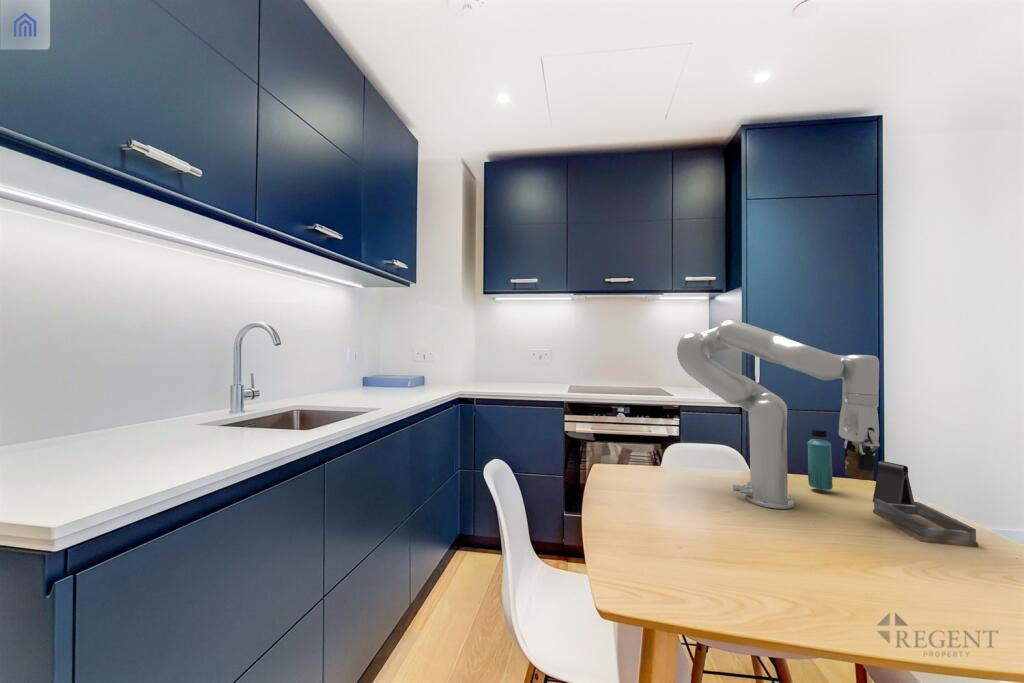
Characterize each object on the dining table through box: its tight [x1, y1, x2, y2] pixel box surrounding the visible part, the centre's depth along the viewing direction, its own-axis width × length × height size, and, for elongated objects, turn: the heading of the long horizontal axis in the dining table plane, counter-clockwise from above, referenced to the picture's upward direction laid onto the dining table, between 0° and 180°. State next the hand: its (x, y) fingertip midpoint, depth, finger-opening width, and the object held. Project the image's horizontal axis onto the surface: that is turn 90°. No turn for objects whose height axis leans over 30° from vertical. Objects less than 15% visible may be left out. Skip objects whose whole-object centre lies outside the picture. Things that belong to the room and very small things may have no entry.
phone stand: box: [872, 460, 915, 505], centre depth 121 cm, size 9×6×12 cm, turn 111°
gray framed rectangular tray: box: [872, 499, 979, 548], centre depth 104 cm, size 11×18×4 cm, turn 166°
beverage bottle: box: [807, 428, 834, 491], centre depth 132 cm, size 6×7×20 cm
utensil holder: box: [844, 441, 875, 481], centre depth 110 cm, size 6×6×12 cm
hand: (858, 465), depth 110 cm, fingers closed on utensil holder, 5 cm apart
